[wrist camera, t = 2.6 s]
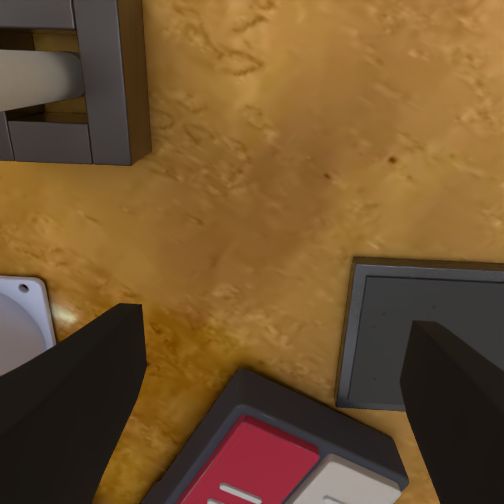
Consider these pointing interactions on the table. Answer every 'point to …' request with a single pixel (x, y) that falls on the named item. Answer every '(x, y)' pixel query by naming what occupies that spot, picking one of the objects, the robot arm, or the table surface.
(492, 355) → the tablet
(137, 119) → the stand
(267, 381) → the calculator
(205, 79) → the table surface
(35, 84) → the peg
